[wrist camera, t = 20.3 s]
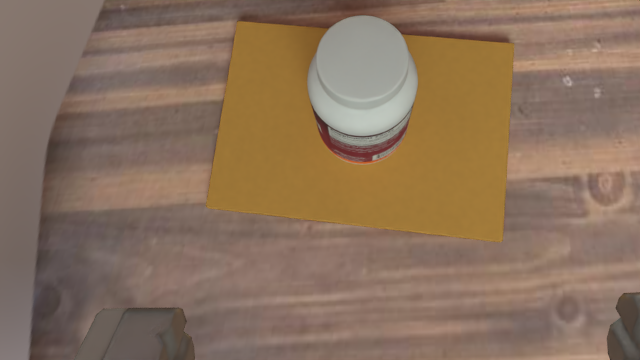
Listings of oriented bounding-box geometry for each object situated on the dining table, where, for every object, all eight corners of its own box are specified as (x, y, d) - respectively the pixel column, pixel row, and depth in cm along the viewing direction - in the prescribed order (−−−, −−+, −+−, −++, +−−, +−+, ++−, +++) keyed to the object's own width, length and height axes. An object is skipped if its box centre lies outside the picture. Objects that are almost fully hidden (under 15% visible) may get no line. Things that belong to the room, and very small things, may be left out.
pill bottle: (328, 74, 39) (316, -11, 28) (414, 90, 38) (435, 9, 27) (308, 157, 38) (287, 102, 27) (397, 175, 37) (412, 125, 26)
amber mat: (208, 208, 38) (205, 206, 37) (239, 25, 41) (237, 20, 40) (499, 242, 36) (502, 241, 35) (511, 48, 39) (514, 43, 38)
